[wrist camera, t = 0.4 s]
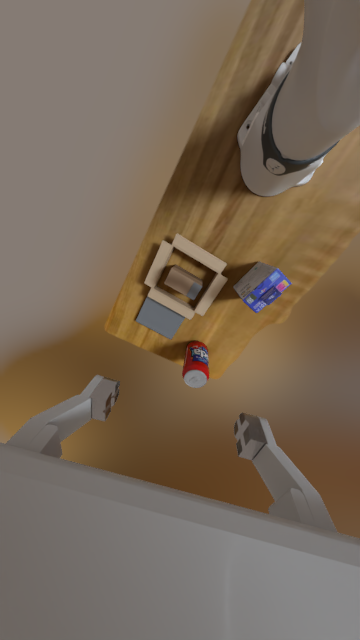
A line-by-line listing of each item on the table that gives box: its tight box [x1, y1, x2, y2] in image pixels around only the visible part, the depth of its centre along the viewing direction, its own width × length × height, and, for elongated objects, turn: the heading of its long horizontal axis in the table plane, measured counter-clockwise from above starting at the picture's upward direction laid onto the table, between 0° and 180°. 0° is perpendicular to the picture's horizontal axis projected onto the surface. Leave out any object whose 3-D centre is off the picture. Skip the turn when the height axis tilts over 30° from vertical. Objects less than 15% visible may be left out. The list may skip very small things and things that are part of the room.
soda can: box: [182, 341, 209, 388], centre depth 53 cm, size 8×8×15 cm
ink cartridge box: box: [233, 262, 291, 313], centre depth 42 cm, size 10×6×14 cm, turn 141°
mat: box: [136, 296, 185, 339], centre depth 56 cm, size 12×14×1 cm
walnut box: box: [164, 265, 202, 300], centre depth 46 cm, size 4×9×8 cm, turn 62°
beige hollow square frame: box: [144, 234, 228, 320], centre depth 48 cm, size 19×20×4 cm
